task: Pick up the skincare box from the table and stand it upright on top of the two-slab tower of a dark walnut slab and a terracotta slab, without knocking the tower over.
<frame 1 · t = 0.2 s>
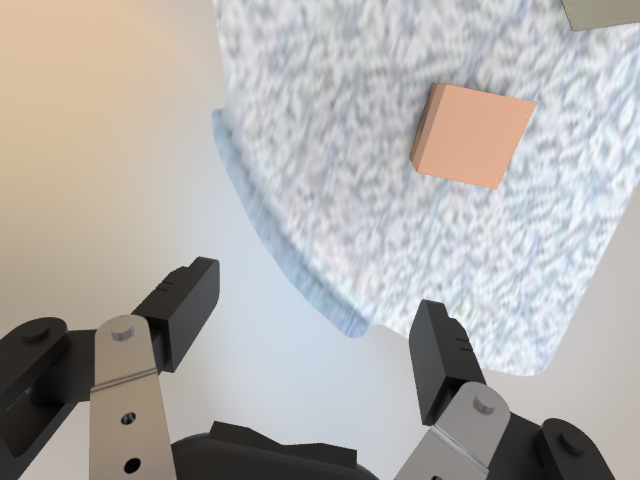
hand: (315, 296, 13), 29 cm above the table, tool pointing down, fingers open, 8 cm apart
terracotta slab: (462, 133, 33), point 3 cm above the table, touching walnut slab
walnut slab: (454, 129, 36), on the table, touching terracotta slab
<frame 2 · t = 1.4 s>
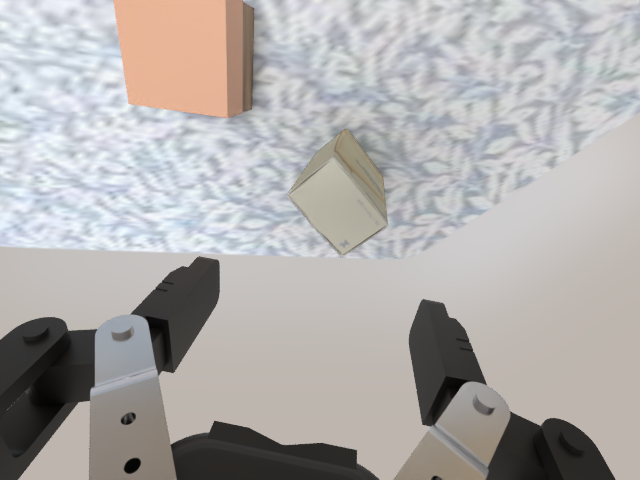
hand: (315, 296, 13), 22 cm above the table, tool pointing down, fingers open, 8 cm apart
skincare box: (347, 165, 33), on the table
terracotta slab: (195, 54, 27), point 3 cm above the table, touching walnut slab
walnut slab: (210, 56, 30), on the table, touching terracotta slab
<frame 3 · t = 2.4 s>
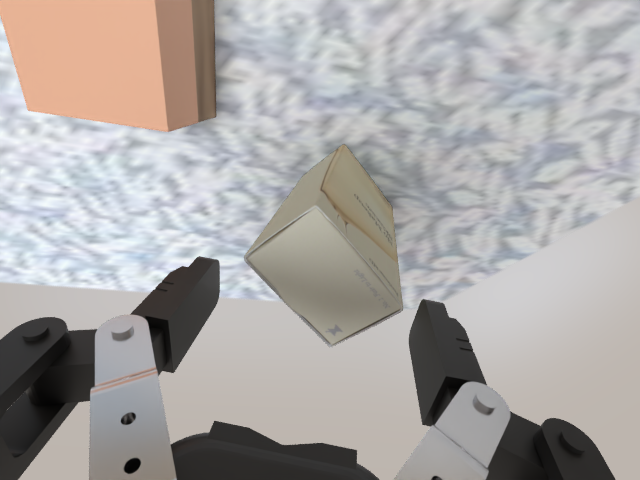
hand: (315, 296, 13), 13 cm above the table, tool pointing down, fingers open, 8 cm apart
skincare box: (344, 191, 25), on the table
terracotta slab: (127, 39, 19), point 3 cm above the table
walnut slab: (159, 44, 22), on the table
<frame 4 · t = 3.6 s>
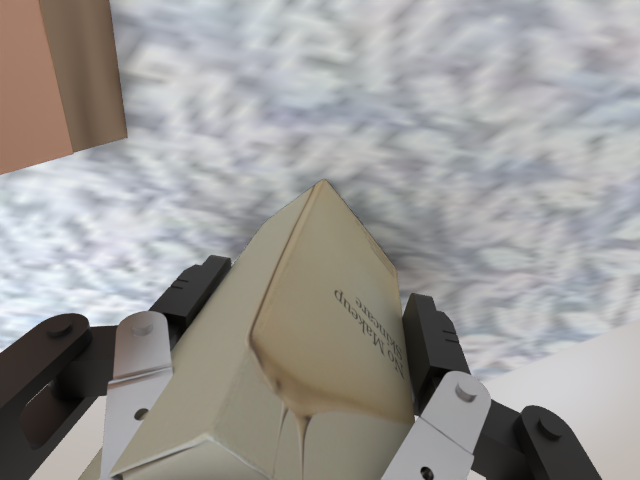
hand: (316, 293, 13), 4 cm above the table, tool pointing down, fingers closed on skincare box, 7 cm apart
skincare box: (326, 244, 17), on the table, touching gripper
walnut slab: (27, 23, 14), on the table
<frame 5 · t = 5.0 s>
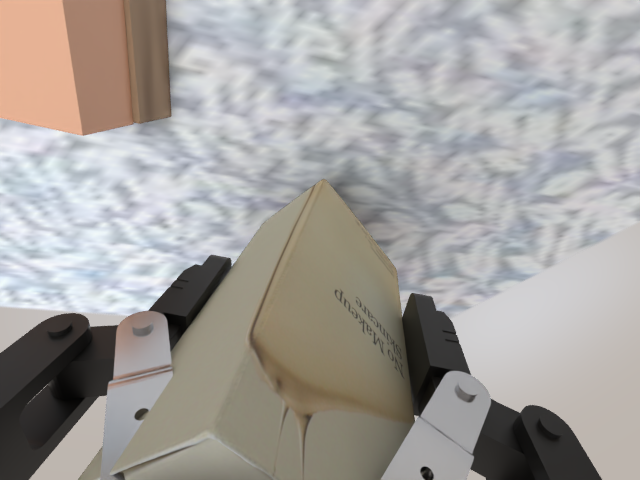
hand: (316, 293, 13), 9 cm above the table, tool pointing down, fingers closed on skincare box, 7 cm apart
skincare box: (326, 244, 17), point 5 cm above the table, touching gripper
terracotta slab: (41, 16, 15), point 3 cm above the table, touching walnut slab
walnut slab: (100, 27, 18), on the table, touching terracotta slab
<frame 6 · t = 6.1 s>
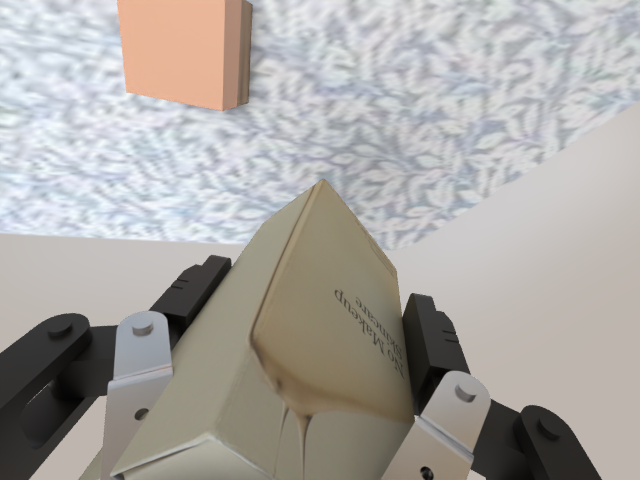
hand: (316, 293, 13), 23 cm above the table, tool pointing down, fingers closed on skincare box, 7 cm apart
skincare box: (326, 244, 17), point 19 cm above the table, touching gripper
terracotta slab: (193, 47, 28), point 3 cm above the table, touching walnut slab
walnut slab: (209, 49, 31), on the table, touching terracotta slab
when the fingers open (12 cm above the table, at t = 11.3 s): skincare box drops 1 cm, resting on terracotta slab.
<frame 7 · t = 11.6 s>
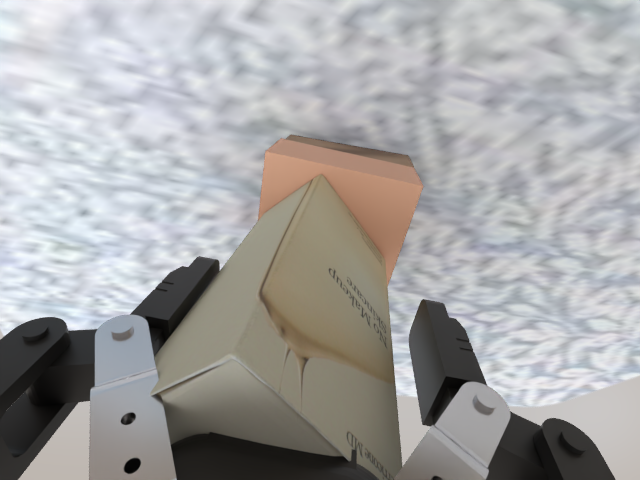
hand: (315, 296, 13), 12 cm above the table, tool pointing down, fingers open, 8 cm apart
skincare box: (321, 235, 18), point 6 cm above the table, touching gripper, terracotta slab
terracotta slab: (333, 213, 21), point 3 cm above the table, touching skincare box, walnut slab
walnut slab: (339, 197, 24), on the table, touching terracotta slab
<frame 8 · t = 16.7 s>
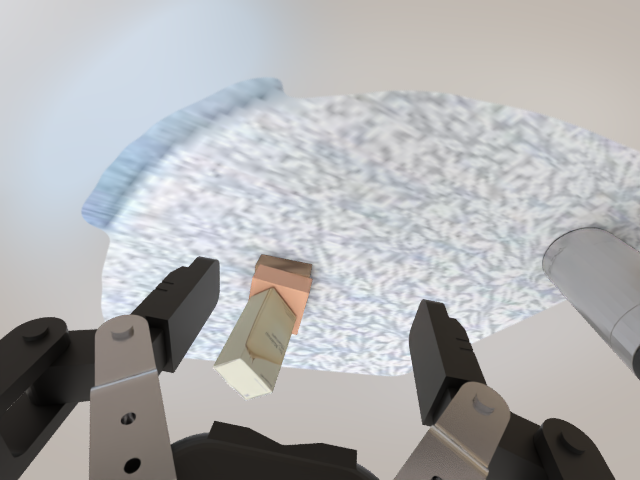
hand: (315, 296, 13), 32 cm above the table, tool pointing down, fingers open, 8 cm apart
skincare box: (273, 305, 46), point 7 cm above the table, touching terracotta slab
terracotta slab: (281, 292, 49), point 3 cm above the table, touching skincare box, walnut slab
walnut slab: (284, 279, 52), on the table, touching terracotta slab
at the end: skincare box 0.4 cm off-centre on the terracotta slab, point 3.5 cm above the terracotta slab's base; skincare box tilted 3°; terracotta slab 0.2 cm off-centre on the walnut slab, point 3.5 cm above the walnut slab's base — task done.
